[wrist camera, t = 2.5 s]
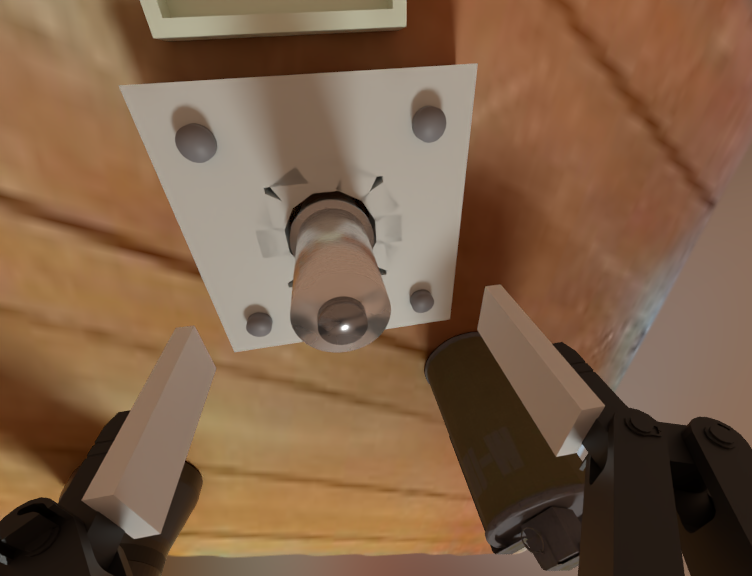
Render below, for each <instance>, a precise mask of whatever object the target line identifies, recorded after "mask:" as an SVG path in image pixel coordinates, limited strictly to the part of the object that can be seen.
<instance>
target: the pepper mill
mask: <svg viewBox="0 0 752 576" xmlns="http://www.w3.org/2000/svg"><path fill="white" fill-rule="evenodd" d="M373 245H374V233H373V229H372V226H371V224H370V221H369V219H368V218H367V216H366V214H365V213H364V212H363V211H362V210H361V209H360V208H359V207H357V205H356V203H355V201H354V200H353V199H352V198H351V197H350V196H349V195H347V194H345V193H343V192H340V191H332V192H322V193H313V194H311V195H310V196H309V197H307V198H306V199H305V201H304V202H303V204H302V206H301V209H300V212H299V213H298V214H297V216H296V217H295V219H294V221H293V223H292V226H291V231H290V247H291V250H292V253H293V255H294V257H295V265H294V276H293V286H292V297H291V308H290V321H291V325H292V328H293V330H294V331H295V333H296V334H297V336H298V337H299V338H300V339H301V340H302V341H303V342H305V343H306V344H308V345H309V346H311V347H313V348H316V349H319V350H322V351H327V352H347V351H352V350H356V349H359V348H361V347H364V346H366V345H368V344H369V343H371V342H372V341H374V340H375V339H376V338H378V337H379V336H380V335H381V333H382V332H383V331H384V330H385V328H386V326H387V325H388V322H389V320H390V315H391V304H390V300H389V297H388V294H387V291H386V288H385V285H384V283H383V280H382V277H381V274H380V271H379V268H378V265H377V262H376V259H375V256H374V253H373V250H372V249H373Z"/></svg>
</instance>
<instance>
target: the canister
mask: <svg viewBox="0 0 752 576" xmlns="http://www.w3.org/2000/svg"><path fill="white" fill-rule="evenodd" d="M425 377H426V379H427V381H428V383H429V384H430V385H431V388H432V391H433V393H434V396H435V399H436V401H437V404H438V406H439V409H440V412H441V414H442V417H443V420H444V422H445V425H446V427H447V430H448V433H449V435H450V436H449V437H450V440H451V443H452V445H453V448H454V451H455V453H456V456H457V458H458V461H459V464H460V466H461V469H462V472H463V474H464V477H465V480H466V482H467V485H468V488H469V490H470V493H471V495H472V498H473V501H474V503H475V506H476V509H477V511H478V514H479V517H480V519H481V522H482V525H483V527H484V530H485V536H486V540H487V542H488V543H489V544H490V546H491V548H492V551H493V553H495V554H513V553H515V552H517V551H518V550H520V549H522V548H524V547H526V548H527V549H528V550H529V551H530V552H532V553H533V554H534V556H535V558H536V559H537V561H538V563H539V564H540V566H541V568H542V569H543V570H546V571H550V570H551V571H558V570H559V571H560V570H571V569H573V568H575V567H576V566H579V554H580V540H581V526H582V512H583V498H584V484H585V470H586V467H585V468H584V470H583V471H582V470H579V468H580V466H581V464H582V460H581V459H580V458H579V456H578V455H577V453H574V454H569V455H563V456H558V457H556V456H555V454H554V453H553V451H552V449H551V448H550V446H549V445H548V443H547V441H546V440H545V438H544V437H543V435H542V433H541V432H540V430H539V429H538V427H537V425H536V424H535V422H534V420H533V419H532V417H531V416H530V414H529V412H528V411H527V409H526V408H525V406H524V404H523V403H522V401H521V400H520V398H519V396H518V395H517V393H516V391H515V390H514V388H513V387H512V385H511V383H510V382H509V380H508V379H507V377H506V375H505V374H504V372H503V371H502V369H501V367H500V366H499V364H498V362H497V361H496V359H495V358H494V356H493V354H492V353H491V351H490V350H489V348H488V346H487V345H486V343H485V341H484V340H483V338H482V337H481V335H480V333H479V332H470V333H466V334H463V335H459V336H456V337H453V338H451V339H450V340H448V341H446V342H444V343H443V344H442V345H440V346H439V347H438V348H437V349H436V350H435V351H434V352H433V353H432V354H431V355H430V357H429V359H428V360H427V363H426V366H425ZM528 546H529V547H530V548H529V547H528Z"/></svg>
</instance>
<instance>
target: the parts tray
mask: <svg viewBox="0 0 752 576" xmlns="http://www.w3.org/2000/svg"><path fill="white" fill-rule="evenodd" d="M140 2H141V5H142V8H143V11H144V14H145V16H146V19H147V22H148V25H149V28H150V30H151V33H152V36H153V38H155V39H159V40H163V41H186V40H207V39H228V38H249V37H270V36H290V35H311V34H332V33H353V32H374V31H394V30H400V29H402V28H404V27H406V23H407V0H140Z"/></svg>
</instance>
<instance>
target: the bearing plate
mask: <svg viewBox="0 0 752 576" xmlns="http://www.w3.org/2000/svg"><path fill="white" fill-rule="evenodd" d="M477 65H478V63H477V64H461V65H445V66H428V67H412V68H396V69H379V70H363V71H347V72H331V73H314V74H298V75H282V76H265V77H249V78H233V79H217V80H200V81H184V82H168V83H151V84H135V85H119V88H120V90H121V92H122V95H123V97H124V99H125V101H126V104H127V106H128V108H129V111H130V113H131V115H132V118H133V120H134V122H135V124H136V127H137V129H138V131H139V134H140V136H141V138H142V141H143V143H144V145H145V148H146V150H147V152H148V154H149V157H150V159H151V161H152V164H153V166H154V168H155V171H156V173H157V175H158V177H159V180H160V182H161V184H162V187H163V189H164V191H165V194H166V196H167V198H168V200H169V203H170V205H171V207H172V210H173V212H174V214H175V217H176V219H177V221H178V223H179V226H180V228H181V230H182V233H183V235H184V237H185V240H186V242H187V244H188V246H189V249H190V251H191V253H192V256H193V258H194V260H195V263H196V265H197V267H198V269H199V272H200V274H201V276H202V279H203V281H204V283H205V286H206V288H207V290H208V292H209V295H210V297H211V299H212V302H213V304H214V306H215V309H216V311H217V313H218V315H219V318H220V320H221V322H222V325H223V327H224V329H225V332H226V334H227V336H228V338H229V341H230V343H231V345H232V348H233V350H234V352H239V351H246V350H252V349H259V348H265V347H272V346H278V345H285V344H292V343H298V342H303V341H302V340H301V339H300V338H299V337H298V336H297V334H296V333H295V331H294V330H293V328H292V325H291V321H290V308H291V297H292V286H293V276H294V265H295V257H294V255H293V253H292V250H291V247H290V231H291V226H290V221H289V217H290V214H291V212H292V209H293V208H294V207H295V206H297V205H298V204H299V203H301V202H302V201H303V200H305V199H306V198H307V197H309V196H310V195H311V194H313V193H322V192H332V191H340V192H343V193H345V194H347V195H349V196H352V197H354V198H356V199H358V200H361V201H362V202H363V203H364V205H365V206H366V208H367V209H368V211H369V221H370V224H371V226H372V229H373V233H374V245H373V249H372V250H373V253H374V256H375V259H376V262H377V265H378V268H379V271H380V274H381V277H382V280H383V283H384V285H385V288H386V291H387V294H388V297H389V300H390V304H391V315H390V320H389V322H388V325H387V326H386V328H385V329H390V328H397V327H403V326H410V325H416V324H423V323H429V322H436V321H442V320H449V319H450V314H451V305H452V296H453V287H454V277H455V268H456V259H457V250H458V240H459V231H460V222H461V213H462V204H463V194H464V185H465V176H466V167H467V157H468V148H469V139H470V130H471V121H472V111H473V102H474V93H475V84H476V74H477Z"/></svg>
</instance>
